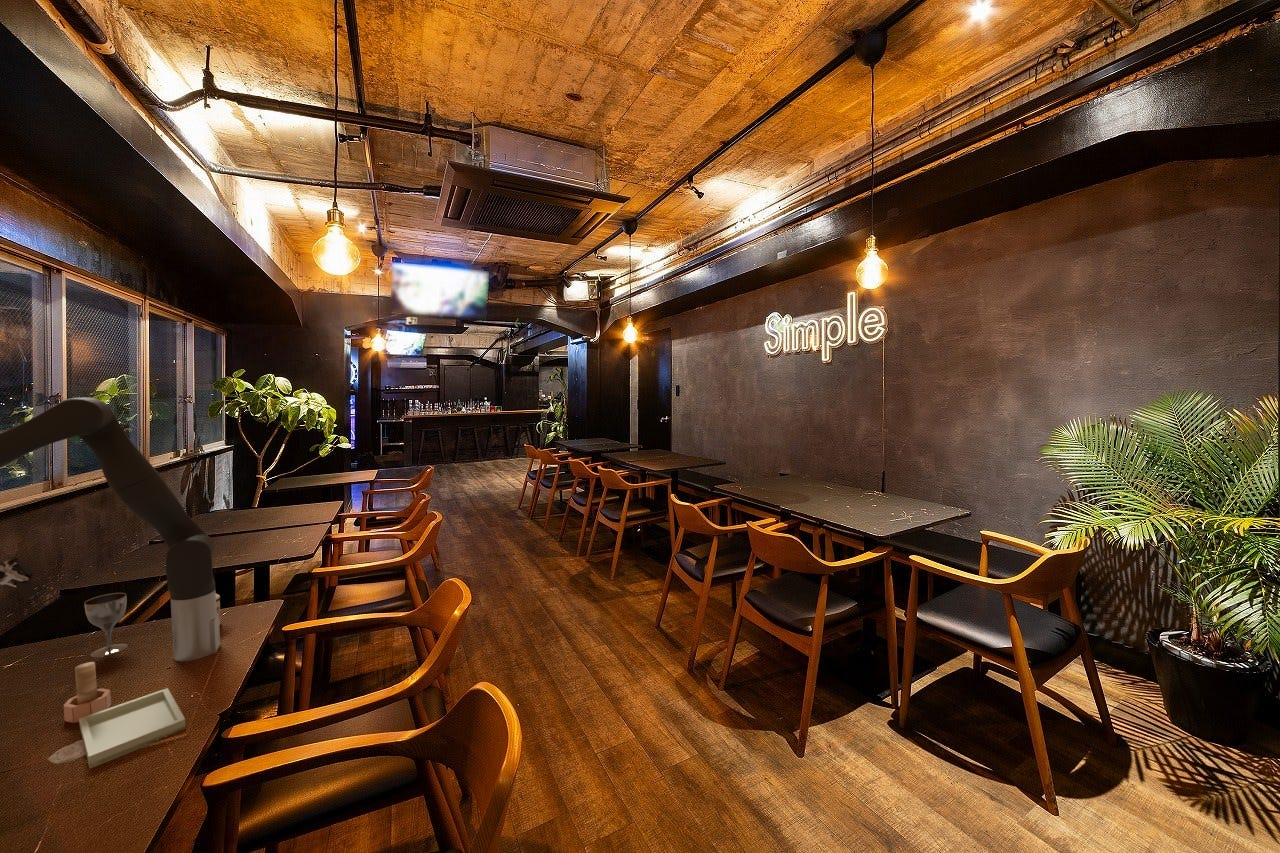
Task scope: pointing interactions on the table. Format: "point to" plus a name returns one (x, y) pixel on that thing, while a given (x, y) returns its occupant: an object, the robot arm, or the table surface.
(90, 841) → the table surface
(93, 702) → the pin holder cup
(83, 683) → the beech pin
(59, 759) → the flatbread
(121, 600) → the wine glass
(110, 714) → the sage tray
